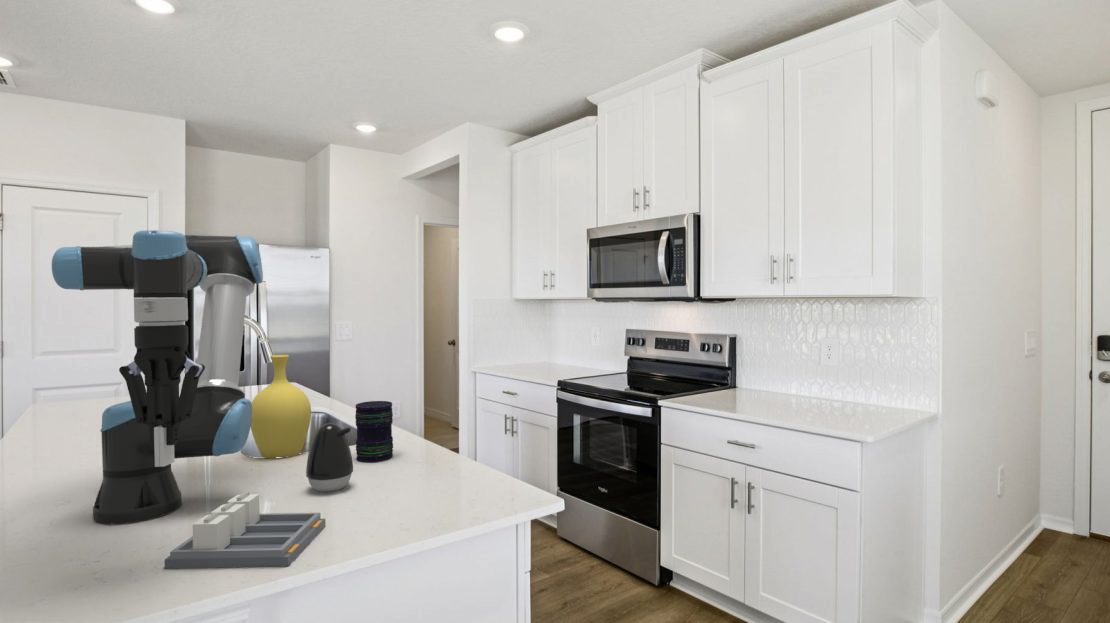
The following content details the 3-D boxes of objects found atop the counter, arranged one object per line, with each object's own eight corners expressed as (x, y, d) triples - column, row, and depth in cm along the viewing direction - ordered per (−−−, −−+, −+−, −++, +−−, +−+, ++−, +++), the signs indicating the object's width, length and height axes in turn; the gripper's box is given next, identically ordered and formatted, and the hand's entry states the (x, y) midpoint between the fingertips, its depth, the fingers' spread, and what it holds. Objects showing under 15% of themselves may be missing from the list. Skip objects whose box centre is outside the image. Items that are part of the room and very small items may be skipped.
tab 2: (211, 540, 104) (210, 509, 103) (223, 531, 108) (222, 501, 107) (234, 540, 104) (233, 508, 103) (245, 531, 108) (245, 500, 107)
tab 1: (193, 554, 98) (192, 520, 98) (206, 544, 102) (205, 511, 102) (217, 553, 98) (216, 520, 98) (230, 543, 102) (229, 511, 102)
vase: (268, 446, 177) (266, 352, 176) (321, 446, 176) (319, 352, 176) (237, 461, 161) (235, 358, 160) (296, 461, 160) (294, 358, 160)
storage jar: (401, 456, 165) (400, 402, 164) (372, 464, 157) (372, 408, 156) (376, 451, 170) (375, 399, 170) (348, 459, 162) (347, 405, 162)
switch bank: (164, 568, 97) (164, 552, 97) (220, 528, 114) (220, 514, 114) (288, 566, 97) (287, 549, 97) (325, 526, 114) (325, 512, 114)
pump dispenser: (338, 497, 131) (337, 429, 131) (296, 494, 133) (295, 427, 133) (362, 483, 141) (361, 419, 141) (323, 480, 143) (322, 418, 143)
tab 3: (227, 528, 109) (226, 498, 109) (238, 520, 113) (237, 491, 113) (249, 528, 109) (248, 498, 109) (259, 520, 113) (259, 491, 113)
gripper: (105, 325, 95) (108, 471, 96) (188, 324, 95) (191, 470, 96) (136, 323, 103) (140, 458, 103) (213, 322, 103) (216, 457, 104)
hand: (164, 464), depth 100 cm, fingers closed
